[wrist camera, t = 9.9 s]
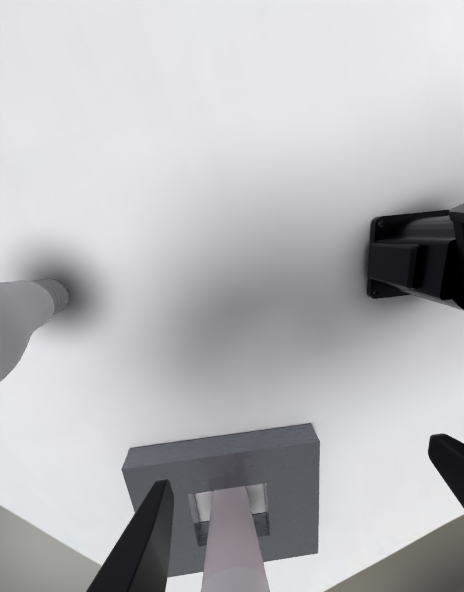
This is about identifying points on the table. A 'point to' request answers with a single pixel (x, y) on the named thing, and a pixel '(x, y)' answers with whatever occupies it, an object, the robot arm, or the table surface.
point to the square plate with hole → (229, 474)
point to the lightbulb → (25, 315)
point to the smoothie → (233, 546)
